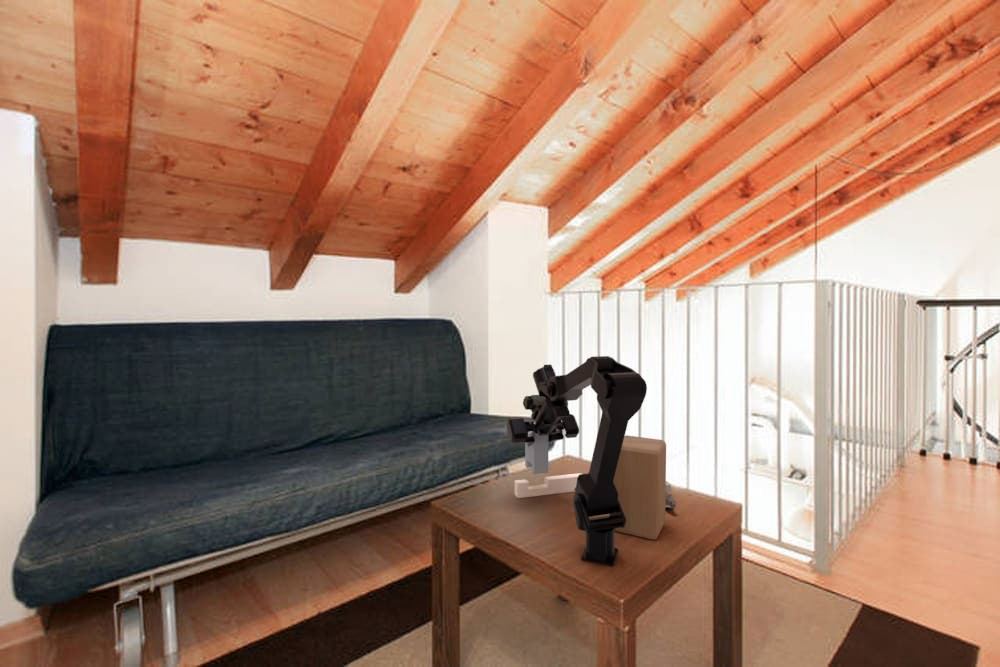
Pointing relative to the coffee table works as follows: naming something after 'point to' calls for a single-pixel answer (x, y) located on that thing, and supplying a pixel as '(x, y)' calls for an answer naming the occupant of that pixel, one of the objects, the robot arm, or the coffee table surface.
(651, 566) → the coffee table surface
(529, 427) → the robot arm
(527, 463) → the slotted block
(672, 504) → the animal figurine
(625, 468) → the wooden block
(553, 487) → the slotted rail
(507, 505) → the coffee table surface
